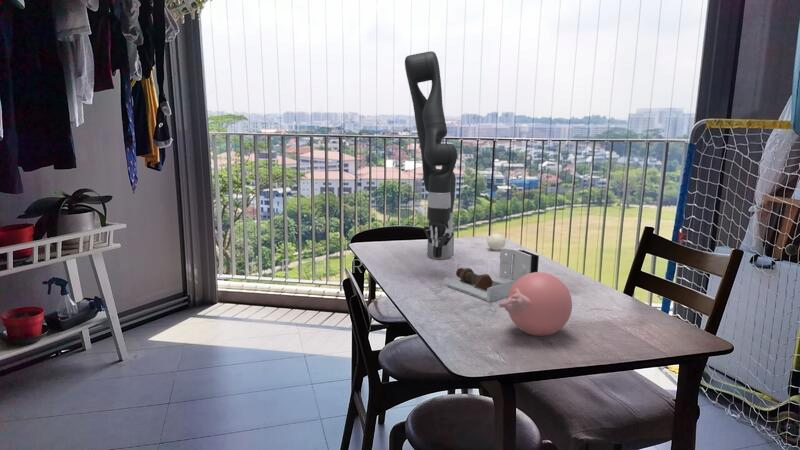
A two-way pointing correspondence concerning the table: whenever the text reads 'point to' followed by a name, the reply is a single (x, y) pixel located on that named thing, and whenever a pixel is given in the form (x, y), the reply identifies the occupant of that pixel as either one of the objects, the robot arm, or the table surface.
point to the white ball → (496, 241)
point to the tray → (492, 293)
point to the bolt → (474, 278)
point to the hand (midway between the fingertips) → (437, 257)
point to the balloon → (538, 304)
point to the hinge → (517, 263)
